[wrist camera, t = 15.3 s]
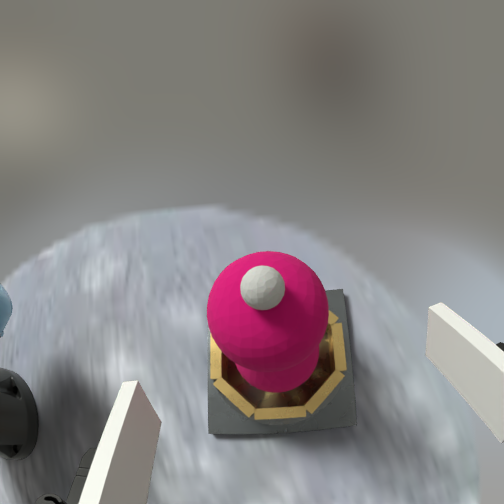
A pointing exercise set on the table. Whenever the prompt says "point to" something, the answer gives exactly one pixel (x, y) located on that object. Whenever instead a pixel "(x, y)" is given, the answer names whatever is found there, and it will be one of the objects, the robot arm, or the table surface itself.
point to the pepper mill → (269, 319)
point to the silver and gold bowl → (290, 402)
